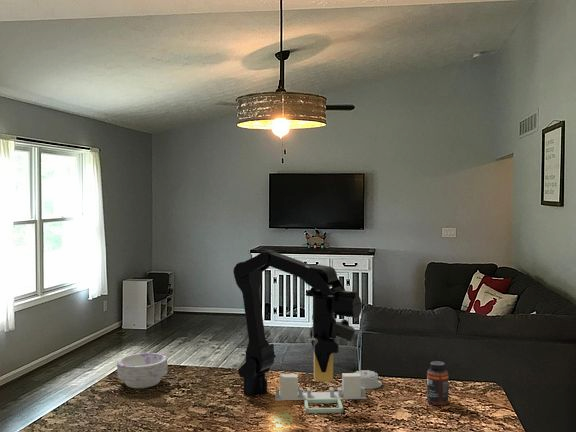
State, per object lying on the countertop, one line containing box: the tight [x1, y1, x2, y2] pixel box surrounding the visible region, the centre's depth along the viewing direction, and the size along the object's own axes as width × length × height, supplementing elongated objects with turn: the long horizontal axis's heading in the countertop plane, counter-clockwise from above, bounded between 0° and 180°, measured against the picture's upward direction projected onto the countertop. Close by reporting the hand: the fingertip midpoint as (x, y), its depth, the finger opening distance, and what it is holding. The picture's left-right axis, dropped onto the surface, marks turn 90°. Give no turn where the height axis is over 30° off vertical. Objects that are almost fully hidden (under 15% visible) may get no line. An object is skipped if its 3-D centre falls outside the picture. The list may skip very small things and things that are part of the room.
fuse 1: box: [279, 373, 299, 398], centre depth 169 cm, size 5×3×6 cm, turn 92°
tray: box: [303, 398, 345, 414], centre depth 161 cm, size 10×8×2 cm
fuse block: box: [274, 386, 368, 401], centre depth 170 cm, size 26×6×3 cm, turn 92°
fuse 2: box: [341, 372, 361, 397], centre depth 170 cm, size 5×3×6 cm, turn 92°
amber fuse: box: [313, 352, 334, 382], centre depth 160 cm, size 5×3×8 cm, turn 92°
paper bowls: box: [116, 352, 168, 389], centre depth 183 cm, size 15×15×8 cm
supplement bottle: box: [426, 360, 450, 406], centre depth 167 cm, size 6×6×11 cm
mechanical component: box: [353, 369, 383, 390], centre depth 181 cm, size 10×4×10 cm
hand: (323, 370), depth 160 cm, fingers closed on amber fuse, 3 cm apart
